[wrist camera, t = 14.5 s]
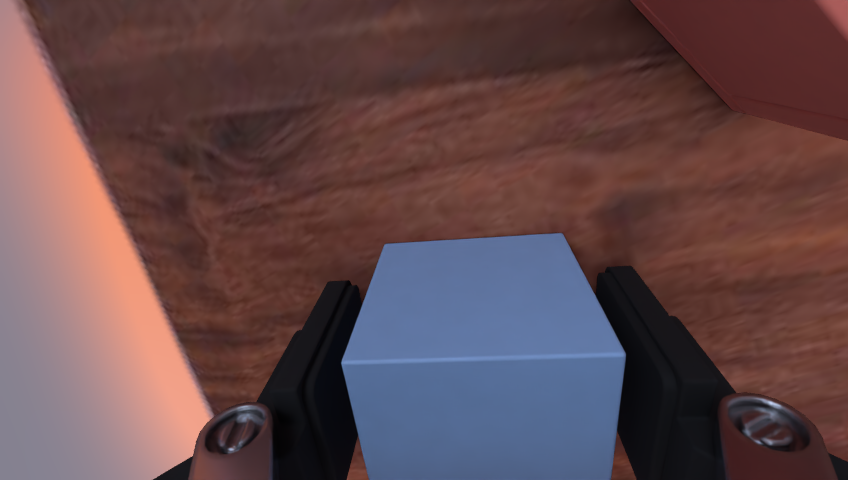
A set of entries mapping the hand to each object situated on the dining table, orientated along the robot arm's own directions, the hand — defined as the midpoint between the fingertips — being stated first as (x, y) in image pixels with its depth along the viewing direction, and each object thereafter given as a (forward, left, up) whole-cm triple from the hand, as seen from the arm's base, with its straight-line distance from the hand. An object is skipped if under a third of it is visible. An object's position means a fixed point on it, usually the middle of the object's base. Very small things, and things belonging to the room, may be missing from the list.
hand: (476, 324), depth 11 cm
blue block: (0, 0, -1) cm, 1 cm away
